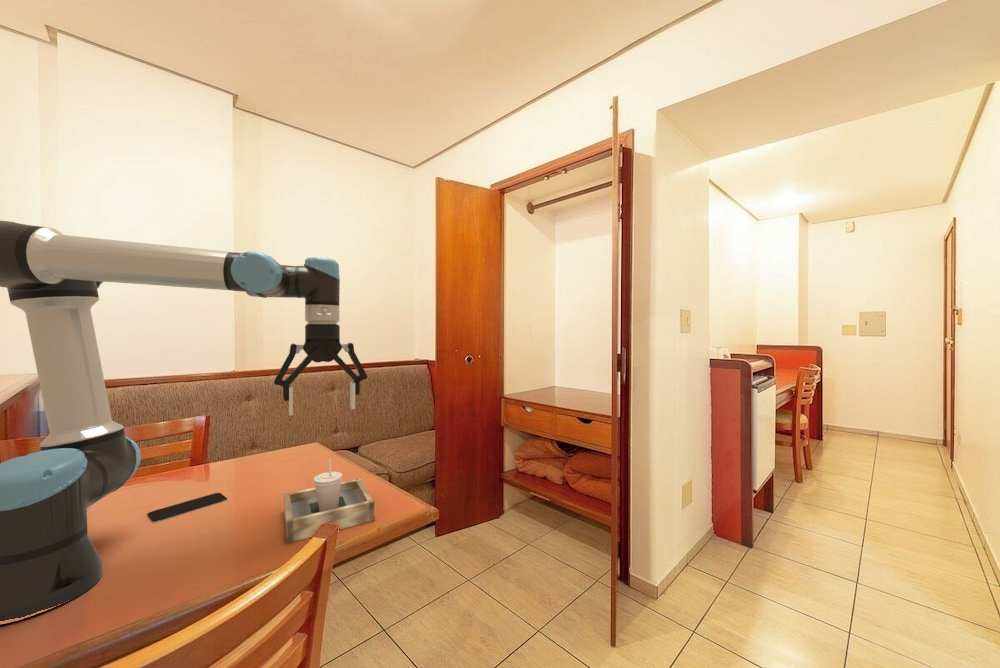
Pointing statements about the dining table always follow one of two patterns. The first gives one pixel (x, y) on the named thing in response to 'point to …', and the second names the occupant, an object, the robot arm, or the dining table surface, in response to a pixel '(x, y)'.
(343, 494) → the socket box
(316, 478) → the smoothie
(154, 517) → the smartphone
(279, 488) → the dining table surface
